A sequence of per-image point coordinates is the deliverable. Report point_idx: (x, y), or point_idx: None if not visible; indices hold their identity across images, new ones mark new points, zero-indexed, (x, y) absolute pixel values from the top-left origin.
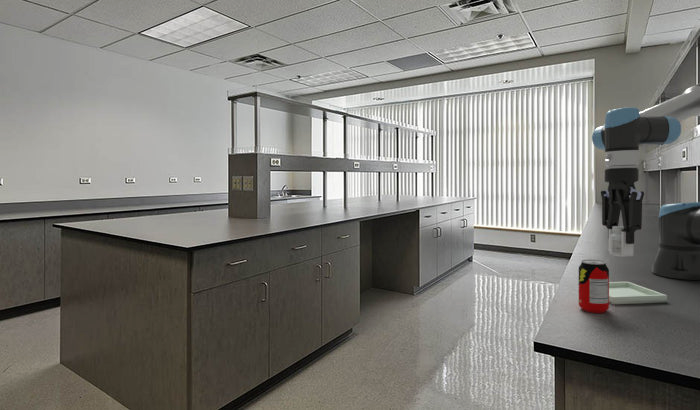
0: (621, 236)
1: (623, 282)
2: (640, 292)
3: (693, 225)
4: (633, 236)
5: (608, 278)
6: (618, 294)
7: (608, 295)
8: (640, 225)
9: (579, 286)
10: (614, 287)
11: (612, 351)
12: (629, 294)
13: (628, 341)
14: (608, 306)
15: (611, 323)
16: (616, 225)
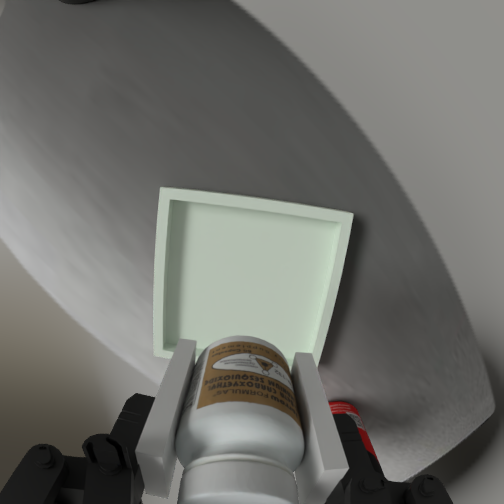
0: (296, 479)
1: (168, 213)
2: (254, 218)
3: None
4: (364, 453)
5: (377, 459)
6: (255, 304)
7: (364, 428)
8: (443, 499)
9: None
10: (176, 251)
11: (438, 449)
12: (265, 271)
13: (437, 428)
14: (357, 411)
15: (392, 421)
16: (132, 487)
